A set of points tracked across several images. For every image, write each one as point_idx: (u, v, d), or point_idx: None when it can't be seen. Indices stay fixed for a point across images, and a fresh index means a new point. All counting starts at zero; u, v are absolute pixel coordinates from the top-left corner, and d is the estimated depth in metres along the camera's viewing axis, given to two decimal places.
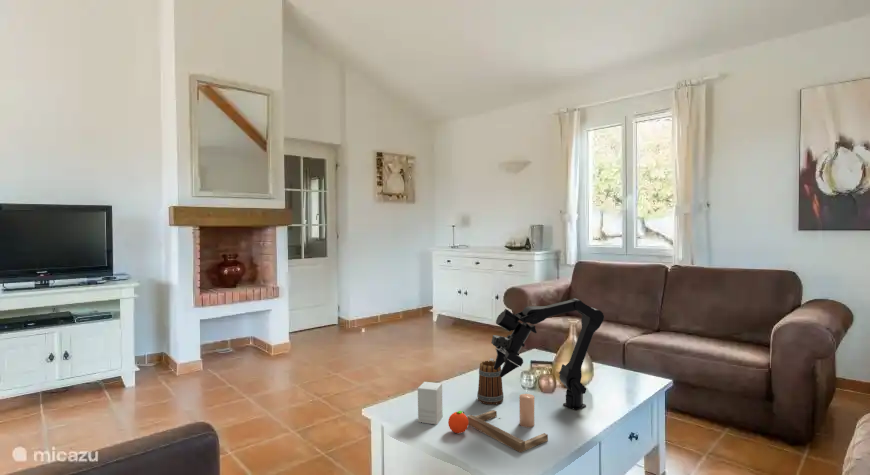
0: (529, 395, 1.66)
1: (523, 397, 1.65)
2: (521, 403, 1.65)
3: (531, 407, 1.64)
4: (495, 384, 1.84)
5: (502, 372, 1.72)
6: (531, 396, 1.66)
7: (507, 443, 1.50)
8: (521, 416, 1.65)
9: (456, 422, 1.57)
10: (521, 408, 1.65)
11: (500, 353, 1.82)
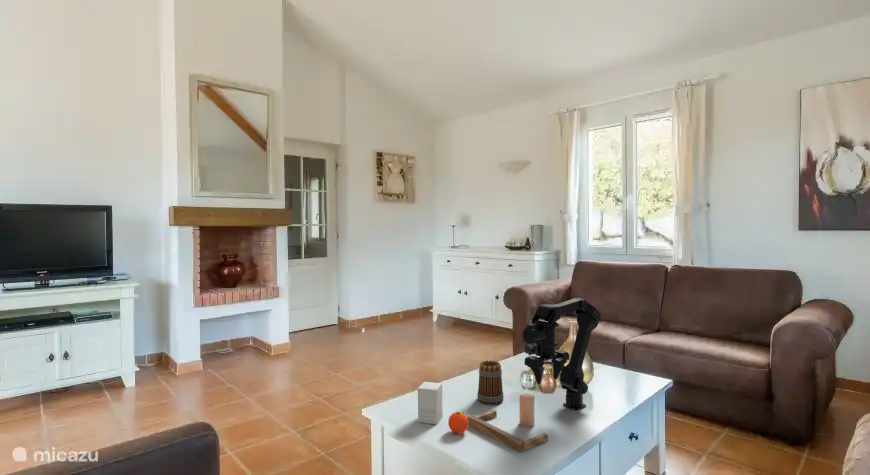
0: (529, 395, 1.66)
1: (523, 397, 1.65)
2: (521, 403, 1.65)
3: (531, 407, 1.64)
4: (495, 384, 1.84)
5: (536, 379, 1.69)
6: (531, 396, 1.66)
7: (507, 443, 1.50)
8: (521, 416, 1.65)
9: (456, 422, 1.57)
10: (521, 408, 1.65)
11: (554, 361, 1.76)
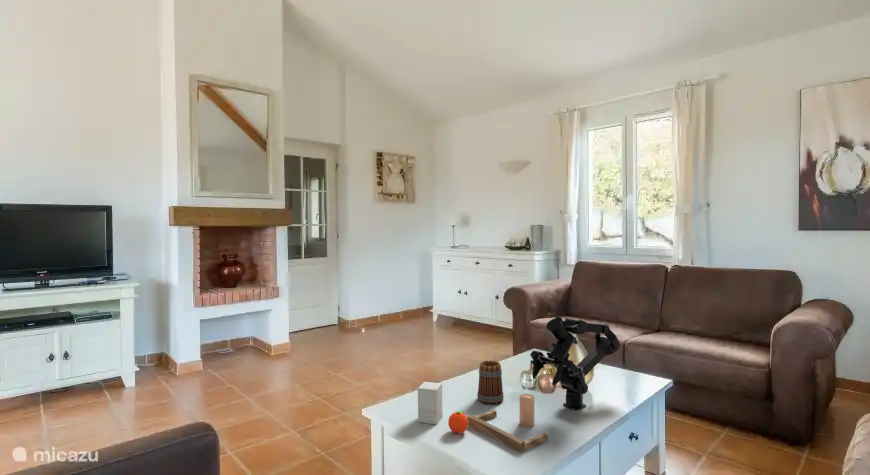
0: (529, 395, 1.66)
1: (523, 397, 1.65)
2: (521, 403, 1.65)
3: (531, 407, 1.64)
4: (495, 384, 1.84)
5: None
6: (531, 396, 1.66)
7: (507, 443, 1.50)
8: (521, 416, 1.65)
9: (456, 422, 1.57)
10: (521, 408, 1.65)
11: None
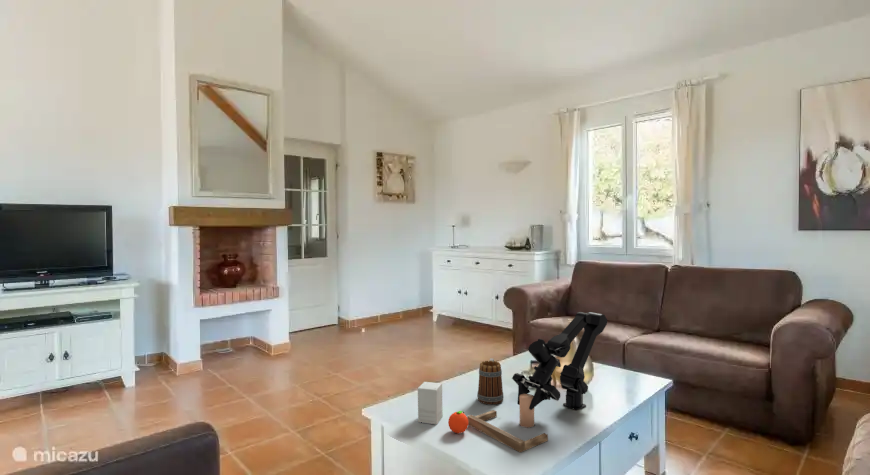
0: (529, 395, 1.66)
1: (523, 397, 1.65)
2: (521, 403, 1.65)
3: None
4: (495, 384, 1.84)
5: None
6: (531, 396, 1.66)
7: (507, 443, 1.50)
8: (521, 416, 1.65)
9: (456, 422, 1.57)
10: (521, 408, 1.65)
11: None
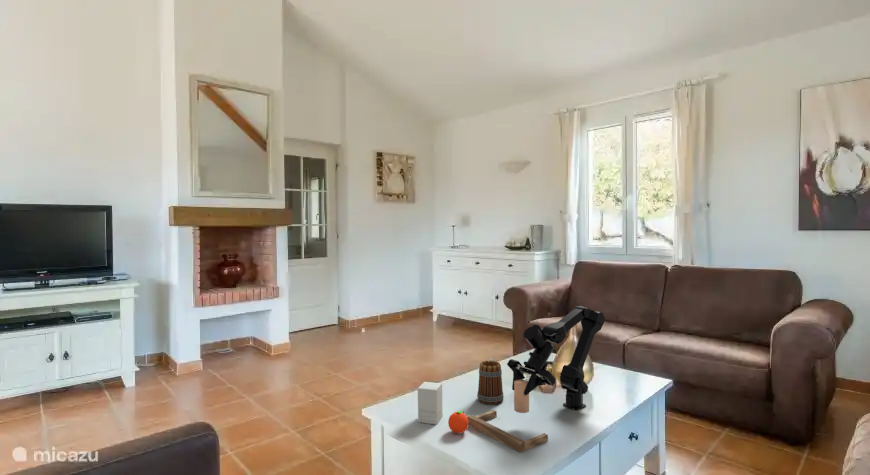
0: (524, 381, 1.65)
1: (518, 382, 1.63)
2: (516, 388, 1.63)
3: None
4: (495, 384, 1.84)
5: None
6: (526, 381, 1.64)
7: (507, 443, 1.50)
8: (516, 402, 1.63)
9: (456, 422, 1.57)
10: (516, 393, 1.63)
11: None
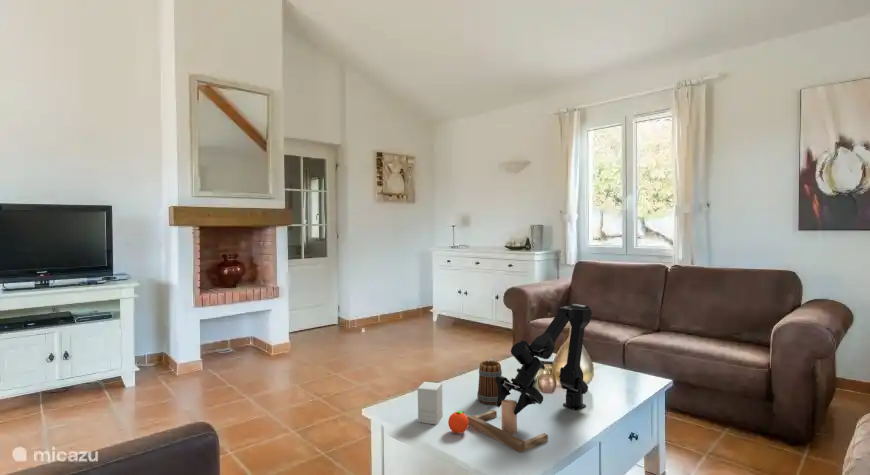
0: (512, 401, 1.61)
1: (505, 403, 1.60)
2: (503, 409, 1.59)
3: (513, 414, 1.58)
4: (495, 384, 1.84)
5: None
6: (513, 402, 1.60)
7: (507, 443, 1.50)
8: (503, 423, 1.59)
9: (456, 422, 1.57)
10: (503, 414, 1.59)
11: None
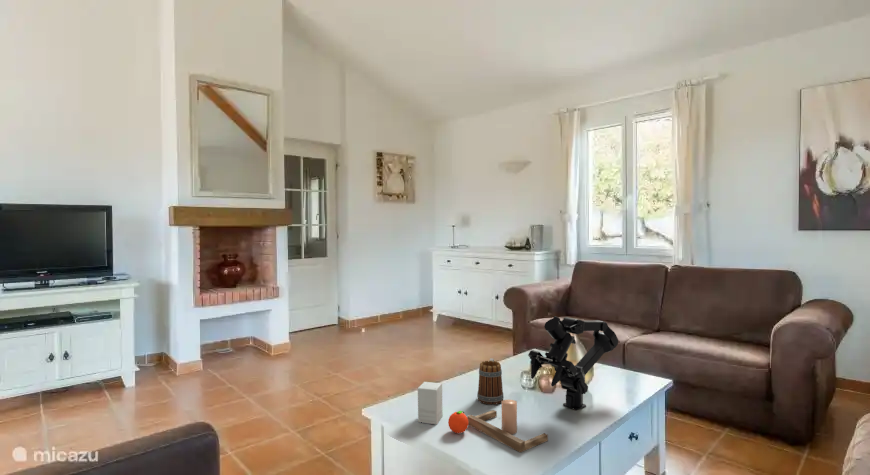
0: (512, 401, 1.61)
1: (505, 403, 1.60)
2: (503, 409, 1.59)
3: (513, 414, 1.58)
4: (495, 384, 1.84)
5: None
6: (513, 402, 1.60)
7: (507, 443, 1.50)
8: (503, 423, 1.59)
9: (456, 422, 1.57)
10: (503, 414, 1.59)
11: None
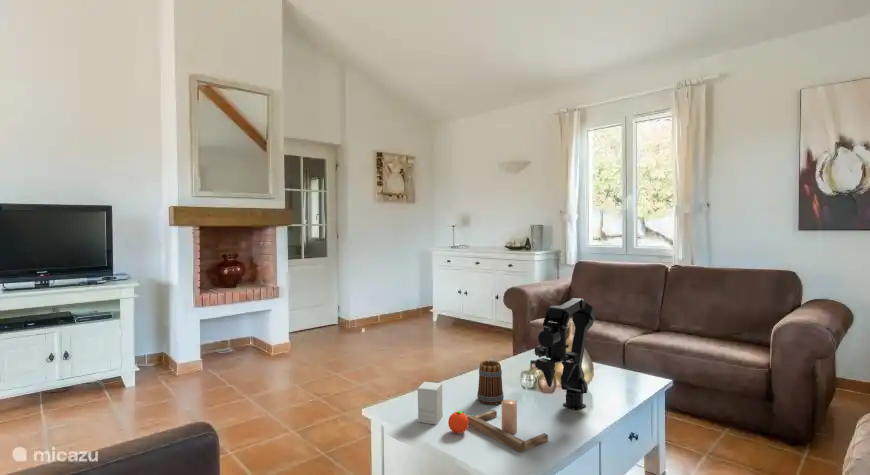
0: (512, 401, 1.61)
1: (505, 403, 1.60)
2: (503, 409, 1.59)
3: (513, 414, 1.58)
4: (495, 384, 1.84)
5: (547, 382, 1.67)
6: (513, 402, 1.60)
7: (507, 443, 1.50)
8: (503, 423, 1.59)
9: (456, 422, 1.57)
10: (503, 414, 1.59)
11: (564, 363, 1.73)
